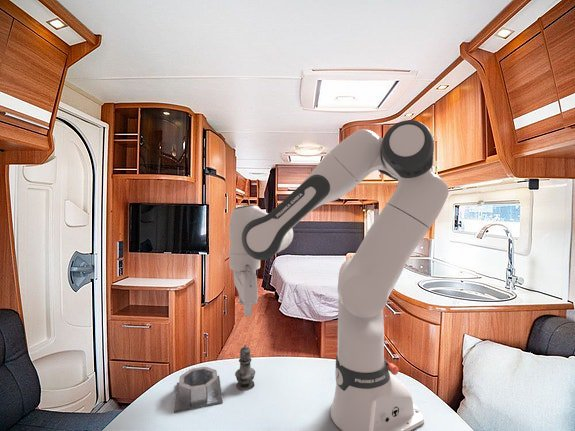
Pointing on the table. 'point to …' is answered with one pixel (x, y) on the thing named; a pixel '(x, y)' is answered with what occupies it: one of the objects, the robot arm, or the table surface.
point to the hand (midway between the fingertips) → (244, 309)
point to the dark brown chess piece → (245, 371)
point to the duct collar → (197, 389)
